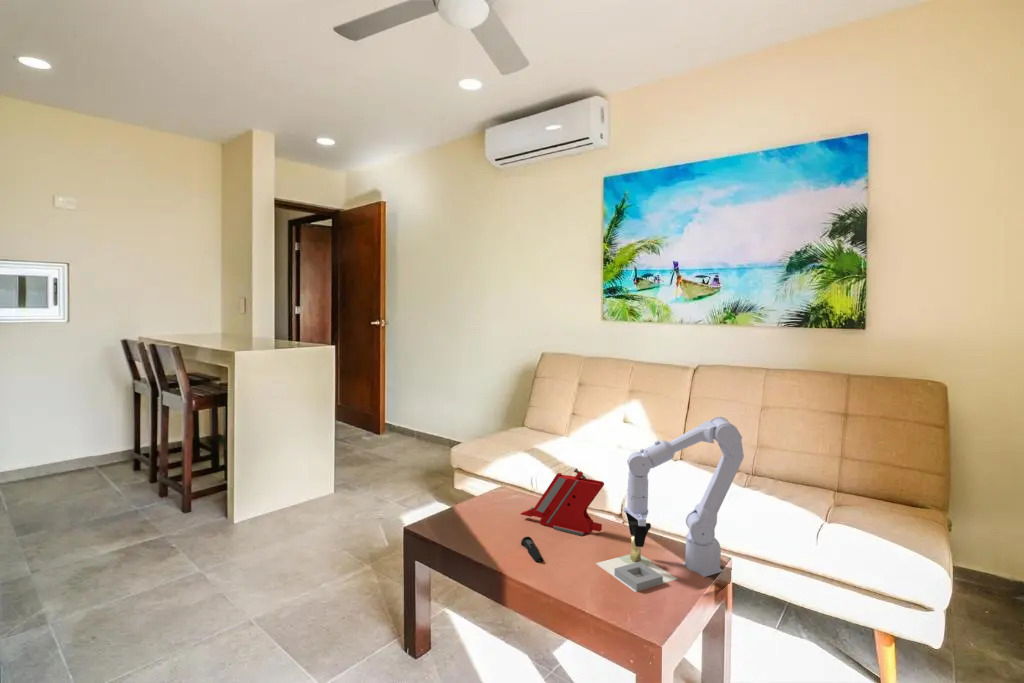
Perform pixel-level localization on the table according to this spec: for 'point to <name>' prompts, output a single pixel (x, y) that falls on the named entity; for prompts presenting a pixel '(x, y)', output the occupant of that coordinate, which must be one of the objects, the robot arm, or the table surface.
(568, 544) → the table surface
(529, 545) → the electric trimmer
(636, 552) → the brass cylinder
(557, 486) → the tool
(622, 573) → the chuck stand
